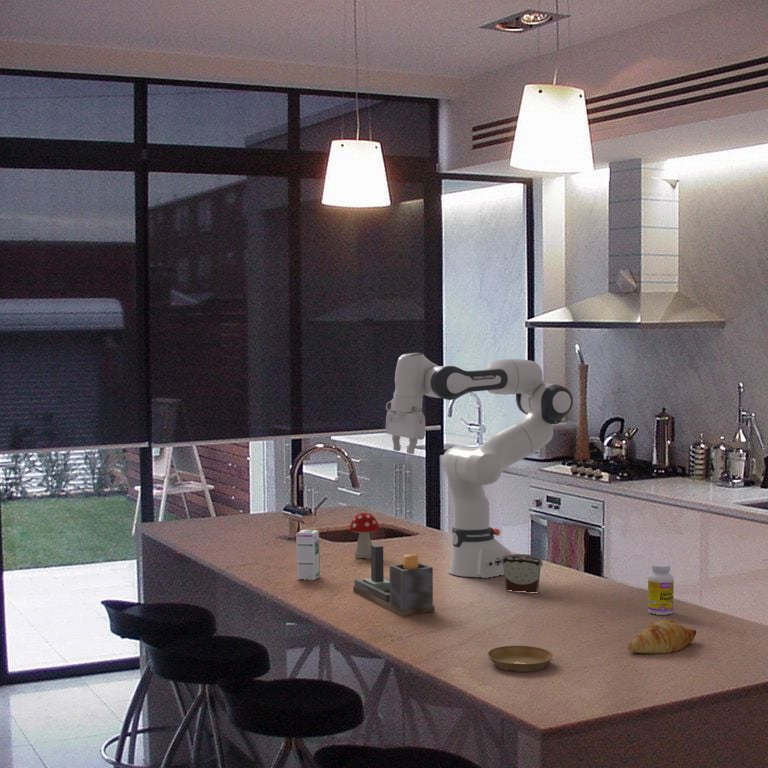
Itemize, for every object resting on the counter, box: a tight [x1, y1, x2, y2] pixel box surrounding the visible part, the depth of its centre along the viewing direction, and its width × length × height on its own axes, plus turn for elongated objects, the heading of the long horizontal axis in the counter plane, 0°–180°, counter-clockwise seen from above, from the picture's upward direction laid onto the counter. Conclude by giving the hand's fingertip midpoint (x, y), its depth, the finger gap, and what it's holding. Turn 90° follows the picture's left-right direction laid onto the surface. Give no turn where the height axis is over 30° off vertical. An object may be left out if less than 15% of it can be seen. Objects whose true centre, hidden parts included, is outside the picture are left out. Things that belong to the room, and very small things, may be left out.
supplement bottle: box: [647, 562, 675, 616], centre depth 309 cm, size 7×7×13 cm
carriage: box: [362, 544, 390, 591], centre depth 334 cm, size 6×8×12 cm
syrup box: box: [295, 529, 321, 581], centre depth 356 cm, size 6×6×14 cm
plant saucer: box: [487, 645, 554, 672], centre depth 263 cm, size 15×15×3 cm
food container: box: [501, 553, 544, 593], centre depth 337 cm, size 12×6×10 cm, turn 65°
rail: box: [352, 561, 435, 617], centre depth 325 cm, size 10×32×12 cm, turn 25°
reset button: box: [402, 553, 419, 570], centre depth 313 cm, size 4×4×6 cm
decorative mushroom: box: [349, 512, 380, 559], centre depth 387 cm, size 10×9×15 cm
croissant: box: [626, 619, 697, 654], centre depth 276 cm, size 21×10×8 cm, turn 122°
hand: (403, 452), depth 350 cm, fingers open, 8 cm apart
